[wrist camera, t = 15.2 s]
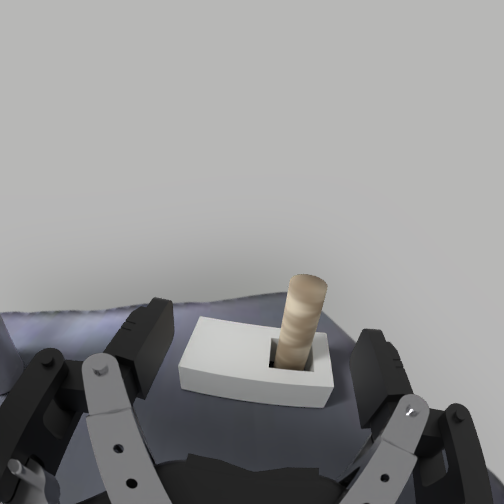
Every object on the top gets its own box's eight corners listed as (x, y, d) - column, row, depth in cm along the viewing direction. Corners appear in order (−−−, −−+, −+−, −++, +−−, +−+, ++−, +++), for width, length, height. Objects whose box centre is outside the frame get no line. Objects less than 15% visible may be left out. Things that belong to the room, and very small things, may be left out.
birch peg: (270, 386, 32) (290, 291, 26) (272, 365, 36) (289, 272, 30) (300, 389, 32) (329, 295, 26) (300, 368, 36) (325, 276, 30)
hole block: (181, 388, 30) (178, 366, 29) (200, 339, 40) (200, 316, 38) (323, 407, 29) (334, 387, 27) (318, 355, 38) (326, 333, 37)
